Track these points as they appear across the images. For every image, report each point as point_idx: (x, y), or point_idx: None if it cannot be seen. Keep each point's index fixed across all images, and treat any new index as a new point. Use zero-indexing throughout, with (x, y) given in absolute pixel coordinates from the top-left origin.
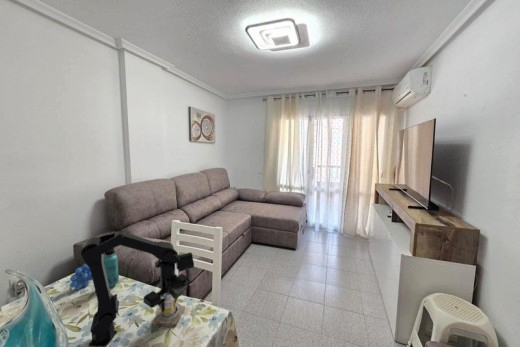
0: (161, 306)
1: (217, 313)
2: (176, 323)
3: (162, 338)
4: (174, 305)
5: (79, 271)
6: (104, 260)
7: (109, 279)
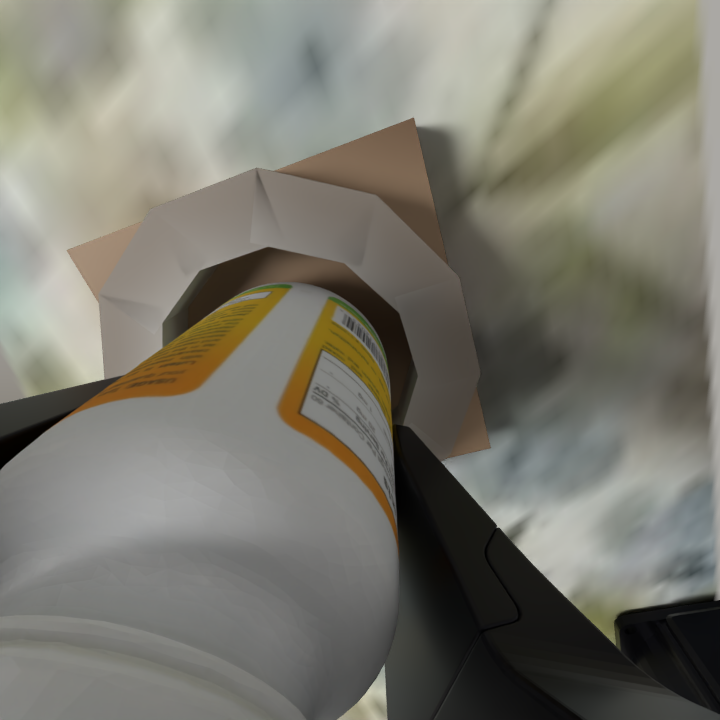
0: (514, 550)
1: None
2: (393, 127)
3: (636, 170)
4: (215, 326)
5: None
6: None
7: None
